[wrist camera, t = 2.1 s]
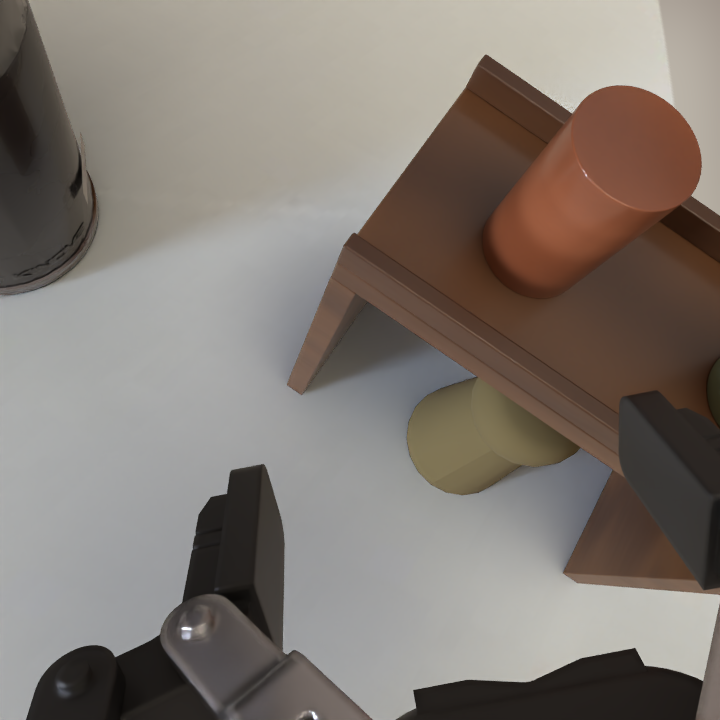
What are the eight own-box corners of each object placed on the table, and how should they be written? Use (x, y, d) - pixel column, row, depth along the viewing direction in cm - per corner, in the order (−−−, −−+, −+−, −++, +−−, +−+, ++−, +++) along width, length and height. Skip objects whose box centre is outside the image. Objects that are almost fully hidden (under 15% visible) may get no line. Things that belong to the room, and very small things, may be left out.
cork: (466, 366, 39) (558, 297, 28) (531, 452, 38) (649, 414, 28) (385, 425, 37) (450, 375, 26) (451, 518, 36) (546, 503, 26)
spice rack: (577, 583, 37) (1060, 623, 16) (286, 384, 36) (379, 155, 15) (642, 446, 40) (1120, 325, 19) (374, 261, 39) (552, -71, 18)
